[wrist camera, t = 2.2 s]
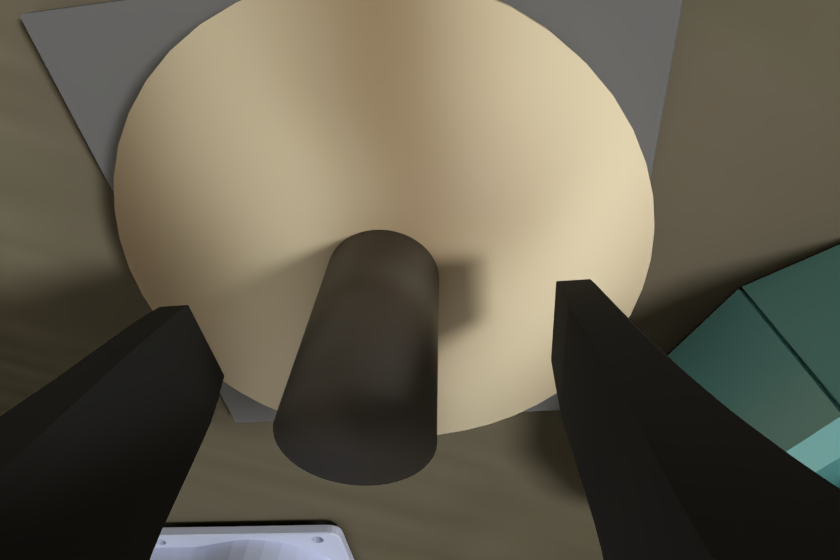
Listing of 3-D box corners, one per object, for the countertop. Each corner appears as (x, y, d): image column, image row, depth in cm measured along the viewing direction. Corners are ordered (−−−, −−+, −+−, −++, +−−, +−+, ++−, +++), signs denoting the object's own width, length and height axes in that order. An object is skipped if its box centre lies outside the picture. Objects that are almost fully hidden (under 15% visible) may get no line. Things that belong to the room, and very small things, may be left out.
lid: (235, 422, 16) (161, 599, 12) (19, 13, 9) (-358, 88, 5) (608, 407, 15) (674, 597, 11) (695, -77, 8) (995, -85, 4)
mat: (239, 413, 16) (235, 423, 16) (33, 11, 9) (19, 14, 9) (605, 397, 15) (609, 408, 15) (686, -77, 8) (695, -77, 8)
